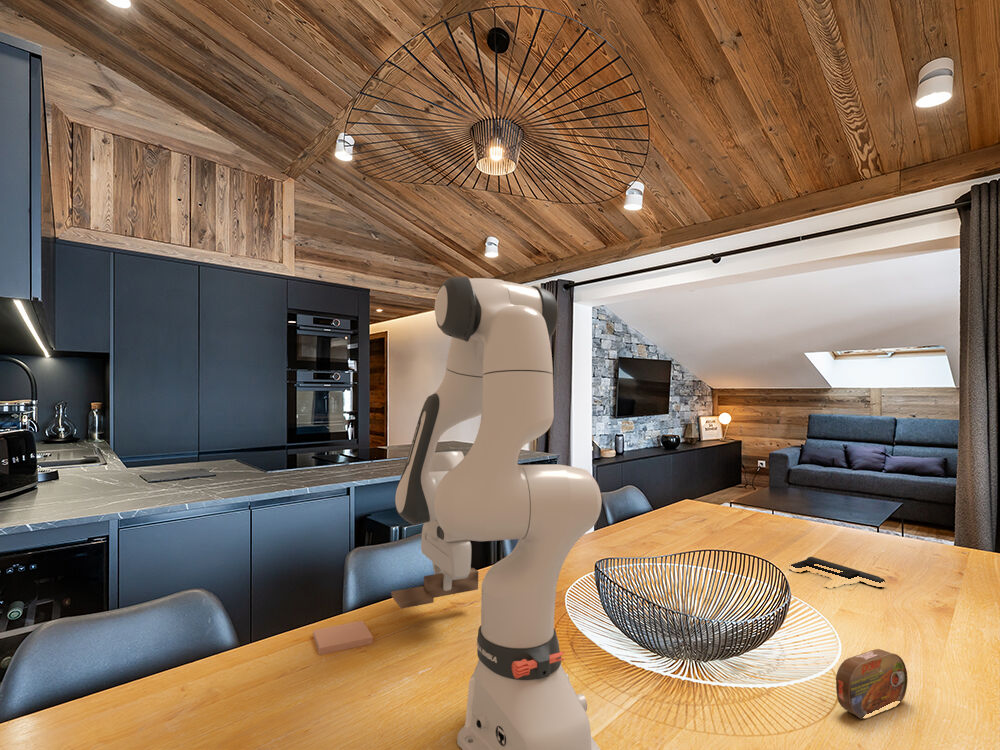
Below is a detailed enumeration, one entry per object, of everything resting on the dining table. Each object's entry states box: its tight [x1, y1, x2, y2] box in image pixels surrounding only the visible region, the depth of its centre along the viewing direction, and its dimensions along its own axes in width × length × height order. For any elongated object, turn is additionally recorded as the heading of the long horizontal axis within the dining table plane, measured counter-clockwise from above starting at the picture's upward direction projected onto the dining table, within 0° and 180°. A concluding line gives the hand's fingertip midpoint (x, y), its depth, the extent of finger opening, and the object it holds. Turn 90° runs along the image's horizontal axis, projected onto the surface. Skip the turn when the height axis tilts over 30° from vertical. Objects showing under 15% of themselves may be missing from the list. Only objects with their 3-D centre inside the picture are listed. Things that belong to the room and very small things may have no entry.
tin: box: [835, 648, 908, 720], centre depth 82 cm, size 15×3×8 cm, turn 114°
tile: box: [312, 620, 374, 656], centre depth 101 cm, size 8×2×10 cm
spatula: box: [390, 567, 479, 609], centre depth 111 cm, size 18×7×4 cm, turn 118°
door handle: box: [790, 556, 886, 583], centre depth 140 cm, size 3×20×16 cm
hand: (443, 586), depth 111 cm, fingers closed on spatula, 2 cm apart
